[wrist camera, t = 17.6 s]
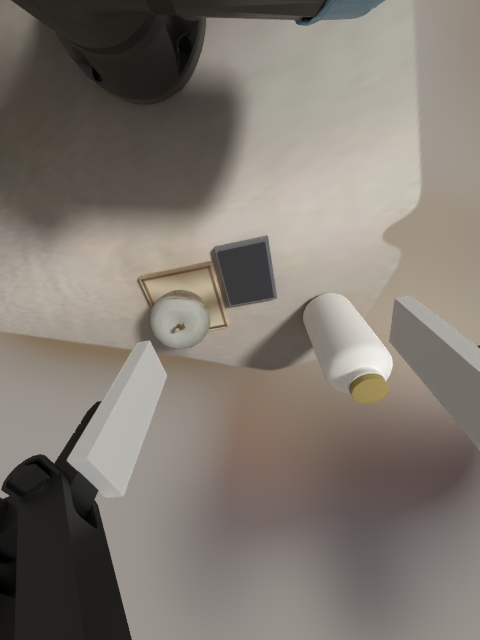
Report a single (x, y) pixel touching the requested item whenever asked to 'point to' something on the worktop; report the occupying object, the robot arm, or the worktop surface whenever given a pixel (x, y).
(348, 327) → the potion bottle
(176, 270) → the board
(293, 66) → the worktop surface
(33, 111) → the worktop surface
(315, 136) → the worktop surface
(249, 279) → the ink pad
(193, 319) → the decorative object
